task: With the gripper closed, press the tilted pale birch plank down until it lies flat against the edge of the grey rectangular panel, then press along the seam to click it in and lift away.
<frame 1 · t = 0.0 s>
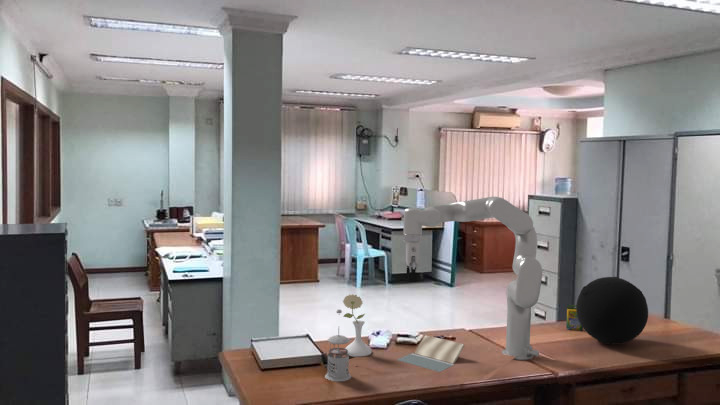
hand: (411, 279, 237), 31 cm above the table, tool pointing down, fingers open, 9 cm apart
plank: (438, 349, 232), point 4 cm above the table, hinge at 35.0°
crayon box: (574, 329, 281), on the table
grey rectangular panel: (424, 365, 225), on the table
flower in vase: (356, 355, 236), on the table
sphere: (610, 343, 259), on the table
french press: (337, 376, 212), on the table
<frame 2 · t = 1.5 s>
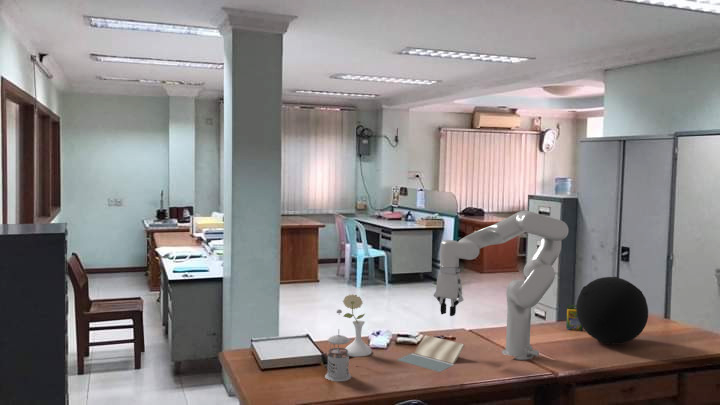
hand: (447, 314, 237), 17 cm above the table, tool pointing down, fingers open, 3 cm apart
nothing on the table moved.
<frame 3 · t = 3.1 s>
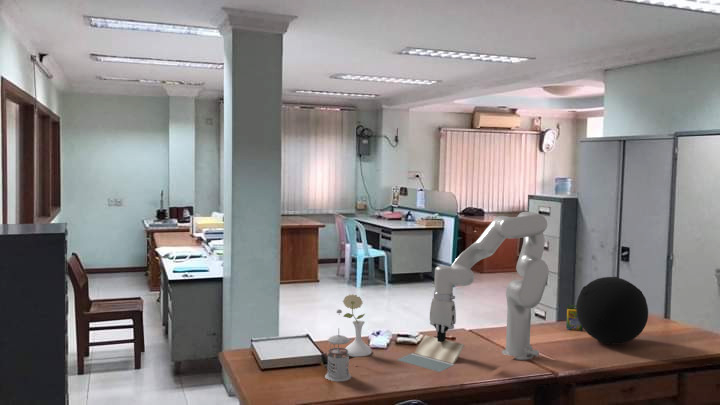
hand: (441, 341, 234), 7 cm above the table, tool pointing down, fingers closed
plank: (438, 349, 232), point 4 cm above the table, hinge at 34.9°, touching gripper
everything else where it was.
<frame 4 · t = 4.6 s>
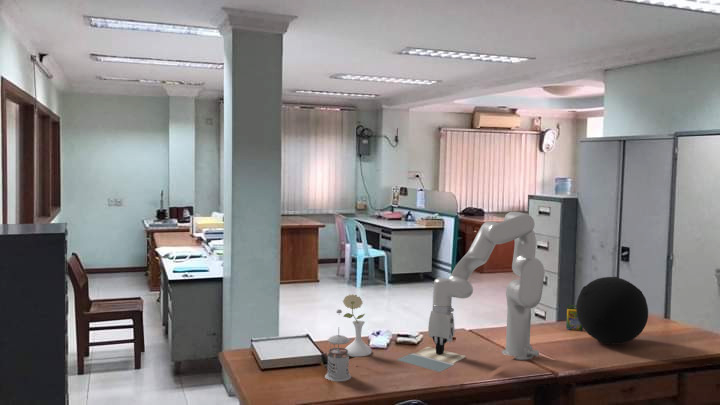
hand: (439, 353, 234), 2 cm above the table, tool pointing down, fingers closed
plank: (439, 356, 233), point 1 cm above the table, hinge at 3.8°, touching gripper
everything else where it was.
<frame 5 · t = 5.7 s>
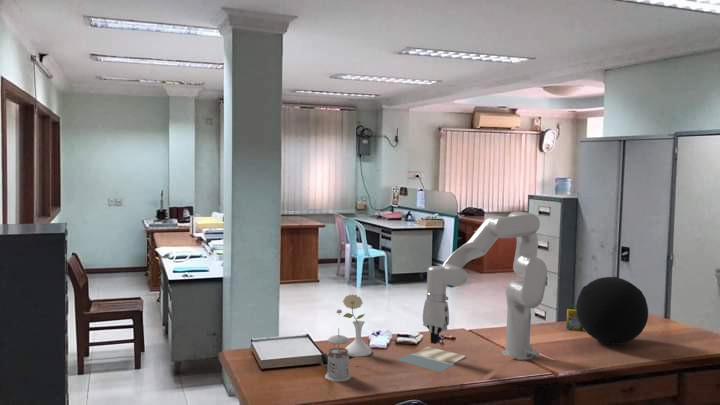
hand: (434, 342, 230), 7 cm above the table, tool pointing down, fingers closed
plank: (439, 356, 233), point 1 cm above the table, hinge at 3.8°
everything else where it was.
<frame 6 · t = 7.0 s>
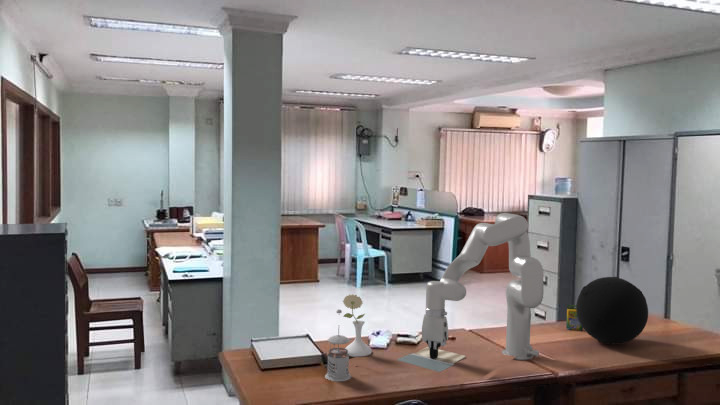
hand: (433, 357, 230), 1 cm above the table, tool pointing down, fingers closed
plank: (439, 356, 233), point 1 cm above the table, hinge at 3.8°, touching gripper
everything else where it was.
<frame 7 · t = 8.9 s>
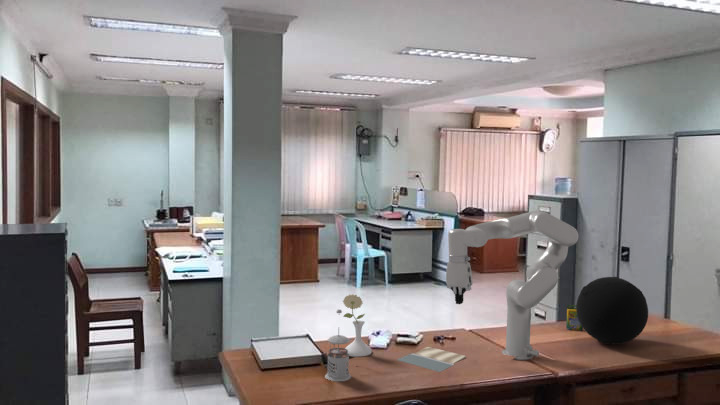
hand: (459, 303, 236), 22 cm above the table, tool pointing down, fingers closed
plank: (439, 356, 233), point 1 cm above the table, hinge at 3.8°
everything else where it was.
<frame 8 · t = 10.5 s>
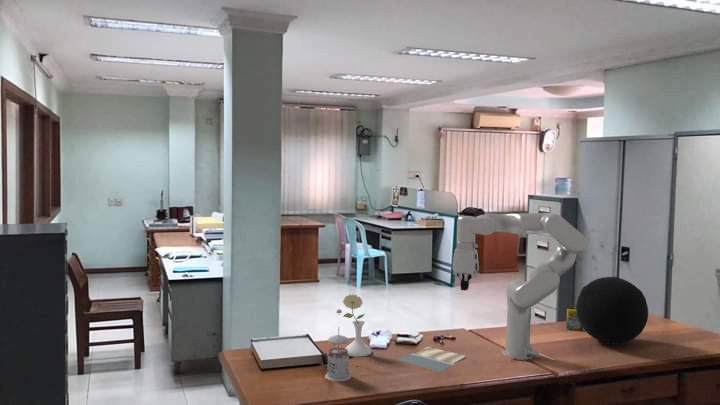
hand: (464, 289, 238), 27 cm above the table, tool pointing down, fingers closed
nothing on the table moved.
at the end: plank at +4° (first picture: +35°); the gripper is holding nothing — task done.
